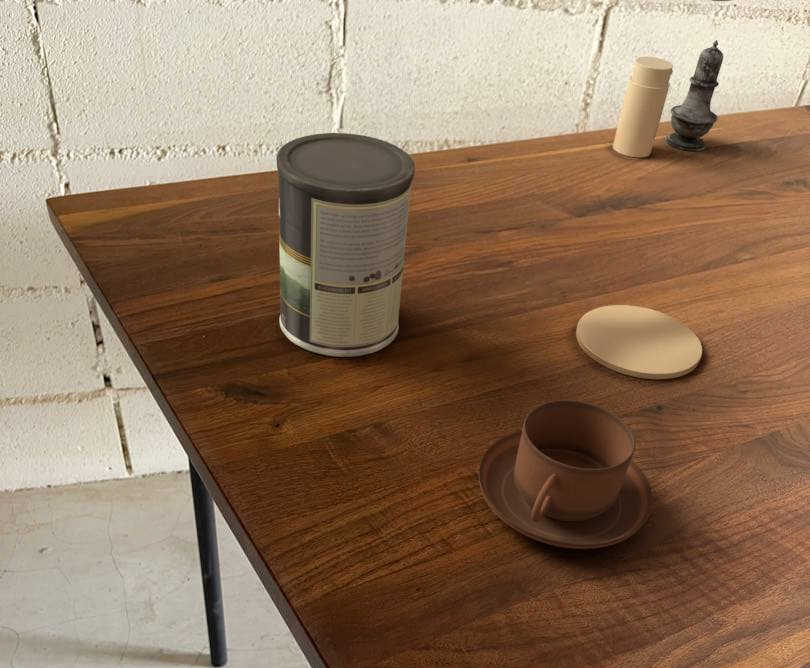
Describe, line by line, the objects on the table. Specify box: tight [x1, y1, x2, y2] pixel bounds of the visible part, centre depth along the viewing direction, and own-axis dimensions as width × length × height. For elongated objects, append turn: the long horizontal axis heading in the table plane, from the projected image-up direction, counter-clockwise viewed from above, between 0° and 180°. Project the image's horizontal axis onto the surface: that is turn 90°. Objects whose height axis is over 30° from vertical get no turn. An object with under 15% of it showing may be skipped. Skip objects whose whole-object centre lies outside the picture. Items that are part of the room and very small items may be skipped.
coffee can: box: [276, 132, 416, 358], centre depth 71 cm, size 10×10×14 cm
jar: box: [612, 56, 674, 158], centre depth 107 cm, size 5×5×10 cm
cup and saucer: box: [478, 399, 654, 550], centre depth 60 cm, size 12×12×6 cm
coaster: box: [575, 304, 703, 380], centre depth 78 cm, size 11×11×1 cm
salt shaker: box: [664, 39, 724, 152], centre depth 109 cm, size 6×6×12 cm
